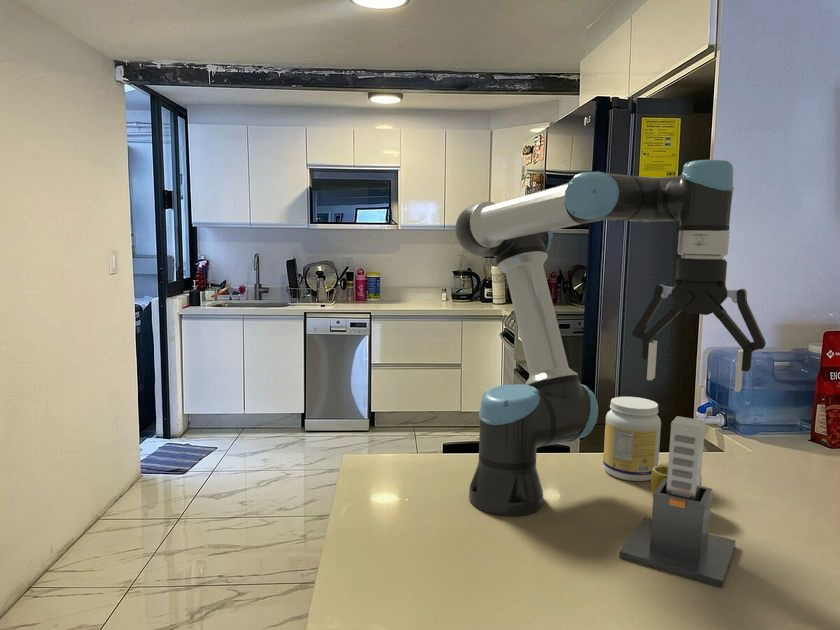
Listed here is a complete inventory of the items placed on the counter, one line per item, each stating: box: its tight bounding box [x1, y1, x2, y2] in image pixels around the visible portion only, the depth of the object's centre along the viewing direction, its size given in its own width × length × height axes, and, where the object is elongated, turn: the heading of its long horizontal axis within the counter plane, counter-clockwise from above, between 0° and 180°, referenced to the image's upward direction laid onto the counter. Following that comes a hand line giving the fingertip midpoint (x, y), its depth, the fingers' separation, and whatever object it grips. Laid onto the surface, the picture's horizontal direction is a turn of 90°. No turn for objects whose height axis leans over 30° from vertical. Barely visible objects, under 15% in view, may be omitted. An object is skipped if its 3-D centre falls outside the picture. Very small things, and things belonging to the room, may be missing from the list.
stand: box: [619, 478, 736, 589], centre depth 109 cm, size 16×16×11 cm
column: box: [666, 415, 706, 502], centre depth 107 cm, size 5×5×22 cm
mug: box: [650, 462, 703, 496], centre depth 128 cm, size 12×10×10 cm
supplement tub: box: [602, 396, 662, 482], centre depth 145 cm, size 12×12×17 cm
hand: (692, 384), depth 105 cm, fingers open, 13 cm apart
